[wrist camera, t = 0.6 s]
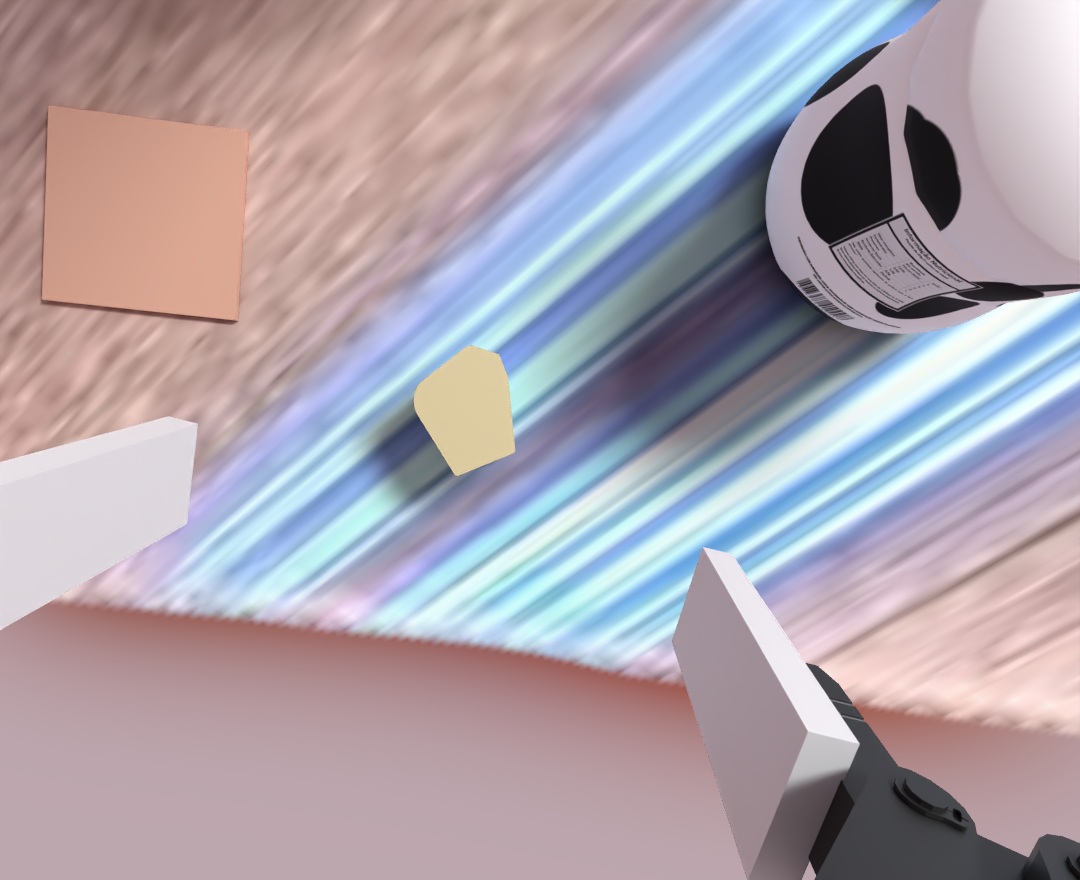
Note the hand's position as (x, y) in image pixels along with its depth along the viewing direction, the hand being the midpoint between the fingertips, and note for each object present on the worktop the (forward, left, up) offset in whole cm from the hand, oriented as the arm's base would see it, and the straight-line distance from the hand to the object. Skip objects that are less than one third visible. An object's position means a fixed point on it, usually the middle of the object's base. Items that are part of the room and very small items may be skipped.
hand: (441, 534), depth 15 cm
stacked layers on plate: (-2, -1, -26) cm, 27 cm away
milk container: (-19, +25, -26) cm, 41 cm away
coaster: (-13, -23, -26) cm, 37 cm away
